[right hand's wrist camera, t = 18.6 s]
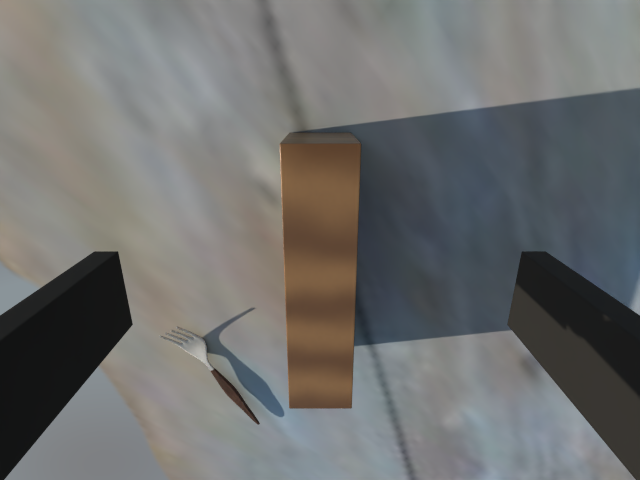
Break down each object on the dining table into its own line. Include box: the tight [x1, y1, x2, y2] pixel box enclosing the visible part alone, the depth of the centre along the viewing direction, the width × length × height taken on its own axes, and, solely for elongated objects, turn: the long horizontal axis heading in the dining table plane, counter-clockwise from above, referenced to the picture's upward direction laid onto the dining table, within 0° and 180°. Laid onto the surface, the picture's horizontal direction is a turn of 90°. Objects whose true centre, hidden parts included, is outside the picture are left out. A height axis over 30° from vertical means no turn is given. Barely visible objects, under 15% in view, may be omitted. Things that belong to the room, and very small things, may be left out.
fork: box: [160, 327, 260, 425], centre depth 42 cm, size 3×16×2 cm, turn 31°
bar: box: [280, 133, 361, 408], centre depth 34 cm, size 23×6×9 cm, turn 0°
